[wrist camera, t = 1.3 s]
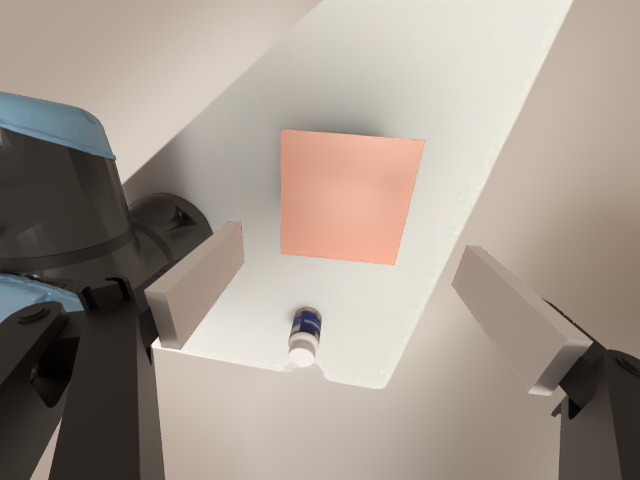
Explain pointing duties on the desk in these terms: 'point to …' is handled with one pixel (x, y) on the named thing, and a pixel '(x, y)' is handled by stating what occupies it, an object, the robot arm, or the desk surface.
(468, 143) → the desk surface
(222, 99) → the desk surface
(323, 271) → the desk surface
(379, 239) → the lid
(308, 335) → the pill bottle
